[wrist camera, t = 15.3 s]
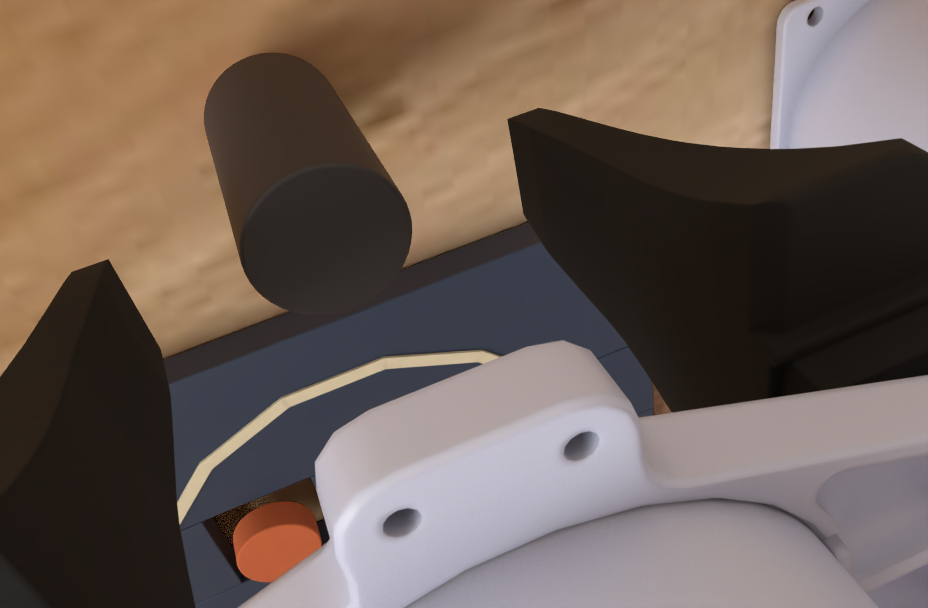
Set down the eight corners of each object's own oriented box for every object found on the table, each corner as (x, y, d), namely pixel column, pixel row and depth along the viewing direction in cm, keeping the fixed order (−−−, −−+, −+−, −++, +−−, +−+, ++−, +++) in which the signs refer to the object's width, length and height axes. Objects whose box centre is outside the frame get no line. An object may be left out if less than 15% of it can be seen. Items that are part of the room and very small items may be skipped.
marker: (305, 17, 19) (390, 139, 13) (342, 134, 21) (429, 281, 15) (177, 58, 18) (212, 200, 13) (226, 174, 20) (274, 340, 15)
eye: (301, 488, 25) (307, 512, 25) (325, 536, 27) (332, 560, 26) (219, 522, 25) (224, 547, 24) (249, 569, 27) (254, 594, 26)
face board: (621, 185, 25) (644, 205, 24) (648, 533, 36) (664, 556, 35) (-60, 442, 21) (-67, 477, 20) (205, 735, 33) (209, 767, 32)
